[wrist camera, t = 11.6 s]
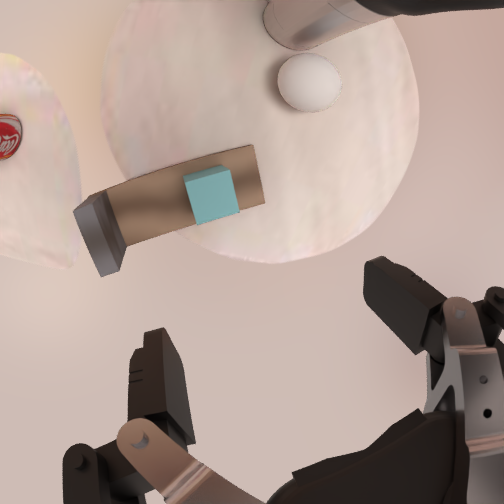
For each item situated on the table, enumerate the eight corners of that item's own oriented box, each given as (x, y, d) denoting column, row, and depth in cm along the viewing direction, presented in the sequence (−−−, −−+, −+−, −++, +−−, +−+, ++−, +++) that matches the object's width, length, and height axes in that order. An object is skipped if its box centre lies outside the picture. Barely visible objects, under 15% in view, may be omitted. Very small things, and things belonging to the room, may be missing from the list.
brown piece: (89, 195, 31) (70, 212, 24) (251, 144, 35) (272, 148, 28) (110, 249, 35) (98, 277, 28) (262, 201, 38) (285, 218, 31)
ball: (331, 86, 34) (365, 81, 27) (300, 125, 35) (331, 125, 28) (290, 49, 30) (319, 34, 23) (256, 87, 32) (279, 77, 25)
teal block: (182, 175, 33) (184, 182, 29) (221, 164, 34) (229, 169, 29) (193, 212, 35) (197, 225, 31) (230, 201, 36) (239, 212, 32)
